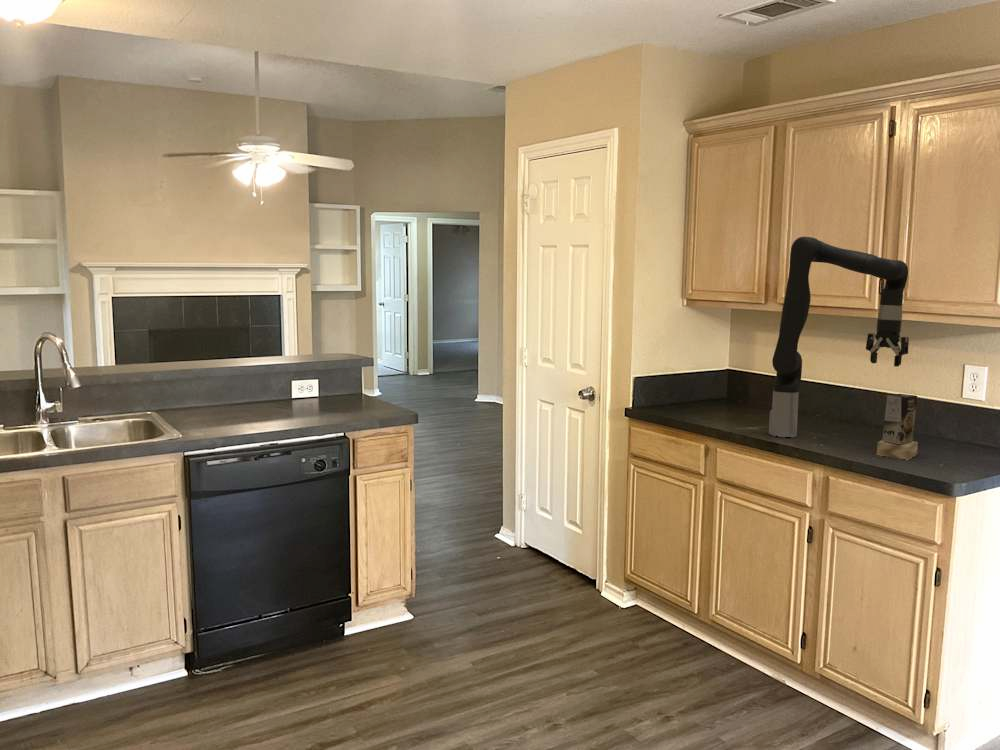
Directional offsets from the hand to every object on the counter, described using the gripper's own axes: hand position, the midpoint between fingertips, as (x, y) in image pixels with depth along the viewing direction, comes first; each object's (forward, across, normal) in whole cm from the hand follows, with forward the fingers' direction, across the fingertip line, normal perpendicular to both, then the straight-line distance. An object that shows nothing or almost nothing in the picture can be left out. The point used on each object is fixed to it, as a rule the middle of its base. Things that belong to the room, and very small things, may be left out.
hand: (885, 364), depth 273 cm
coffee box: (+25, +9, -3) cm, 27 cm away
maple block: (+30, +10, -3) cm, 32 cm away
